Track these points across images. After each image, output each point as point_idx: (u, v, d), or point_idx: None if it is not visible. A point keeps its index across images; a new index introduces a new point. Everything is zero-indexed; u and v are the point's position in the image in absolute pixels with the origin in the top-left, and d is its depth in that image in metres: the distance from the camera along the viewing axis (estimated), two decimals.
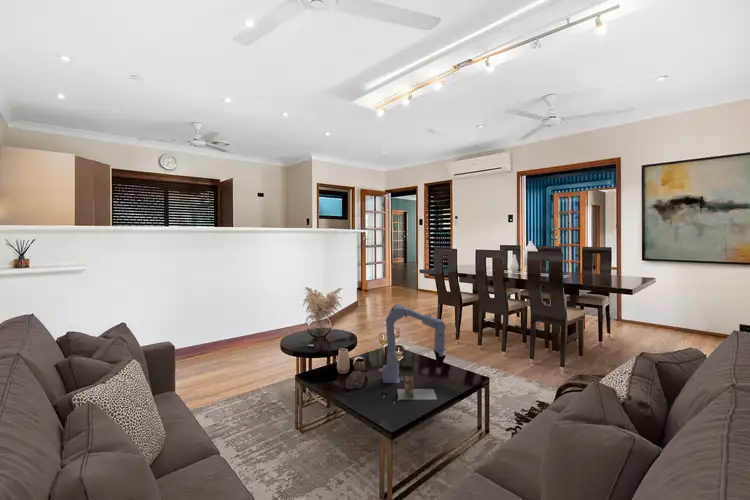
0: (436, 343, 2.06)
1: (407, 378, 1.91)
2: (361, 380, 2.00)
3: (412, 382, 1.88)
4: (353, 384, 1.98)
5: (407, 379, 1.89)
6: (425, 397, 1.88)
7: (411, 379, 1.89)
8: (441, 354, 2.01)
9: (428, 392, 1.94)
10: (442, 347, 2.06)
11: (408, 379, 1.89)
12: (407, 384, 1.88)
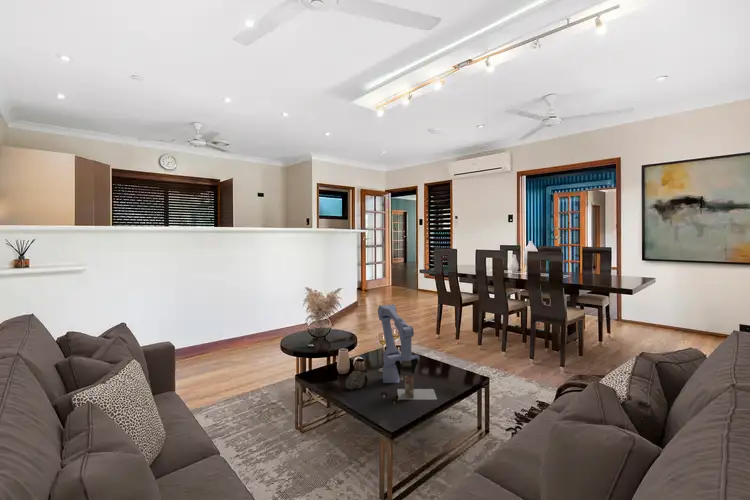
0: None
1: (407, 378, 1.91)
2: (361, 380, 2.00)
3: (412, 382, 1.88)
4: (353, 384, 1.98)
5: (407, 379, 1.89)
6: (425, 397, 1.88)
7: (411, 379, 1.89)
8: (393, 359, 1.92)
9: (428, 392, 1.94)
10: (402, 355, 1.92)
11: (408, 379, 1.89)
12: (407, 384, 1.88)
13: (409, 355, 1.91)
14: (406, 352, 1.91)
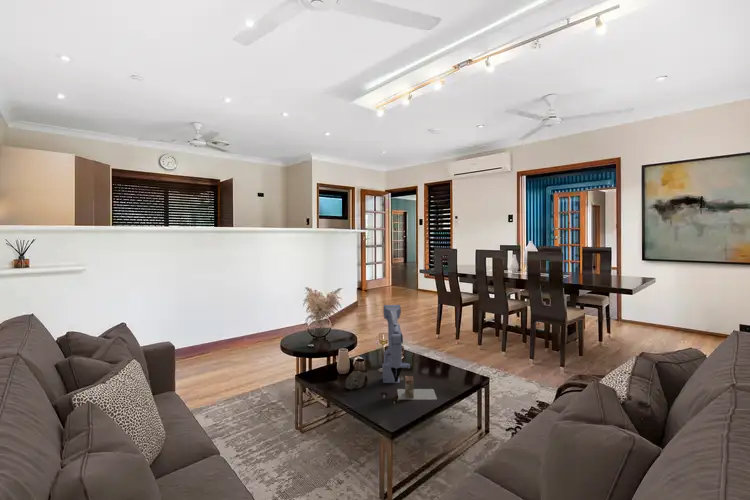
0: None
1: (407, 378, 1.91)
2: (361, 380, 2.00)
3: (412, 382, 1.88)
4: (353, 384, 1.98)
5: (407, 379, 1.89)
6: (425, 397, 1.88)
7: (411, 379, 1.89)
8: (382, 365, 1.90)
9: (428, 392, 1.94)
10: (391, 362, 1.89)
11: (408, 379, 1.89)
12: (407, 384, 1.88)
13: (398, 363, 1.87)
14: (395, 359, 1.87)
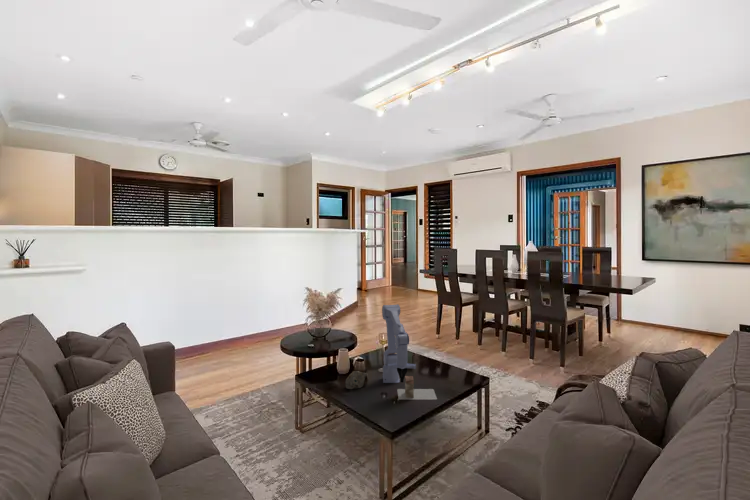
0: None
1: (407, 378, 1.91)
2: (361, 380, 2.00)
3: (412, 382, 1.88)
4: (353, 384, 1.98)
5: (407, 379, 1.89)
6: (425, 397, 1.88)
7: (411, 379, 1.89)
8: (388, 366, 1.90)
9: (428, 392, 1.94)
10: (397, 362, 1.89)
11: (408, 379, 1.89)
12: (407, 384, 1.88)
13: (404, 363, 1.87)
14: (400, 360, 1.87)
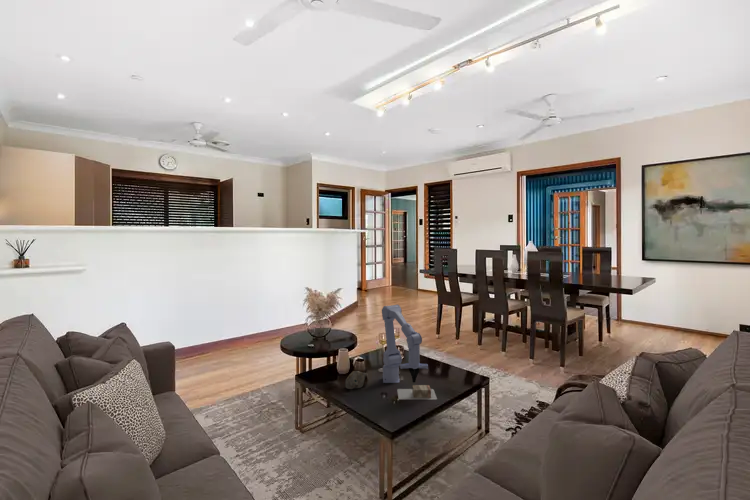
0: None
1: None
2: (361, 380, 2.00)
3: (429, 396, 1.88)
4: (353, 384, 1.98)
5: None
6: None
7: None
8: (400, 366, 1.90)
9: None
10: (409, 362, 1.89)
11: None
12: (427, 391, 1.88)
13: (416, 363, 1.87)
14: (413, 360, 1.87)
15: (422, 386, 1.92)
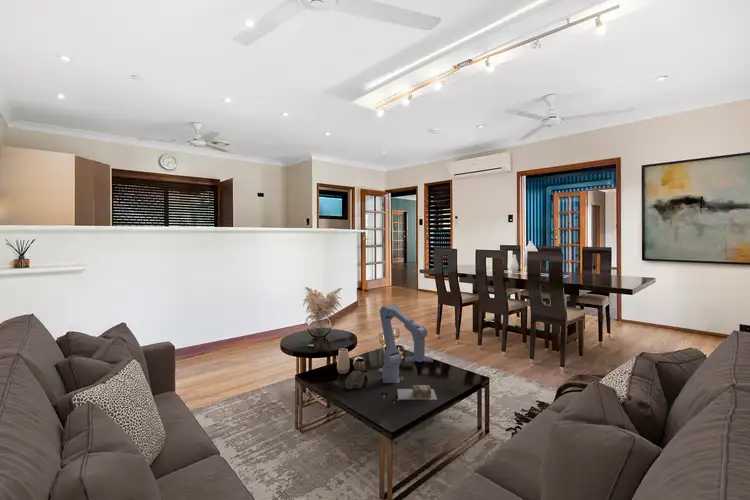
0: None
1: None
2: (361, 380, 2.01)
3: (429, 396, 1.88)
4: (353, 384, 1.98)
5: None
6: None
7: None
8: (405, 359, 1.93)
9: None
10: (414, 356, 1.91)
11: None
12: (427, 391, 1.88)
13: (421, 356, 1.90)
14: (418, 353, 1.90)
15: (422, 386, 1.92)
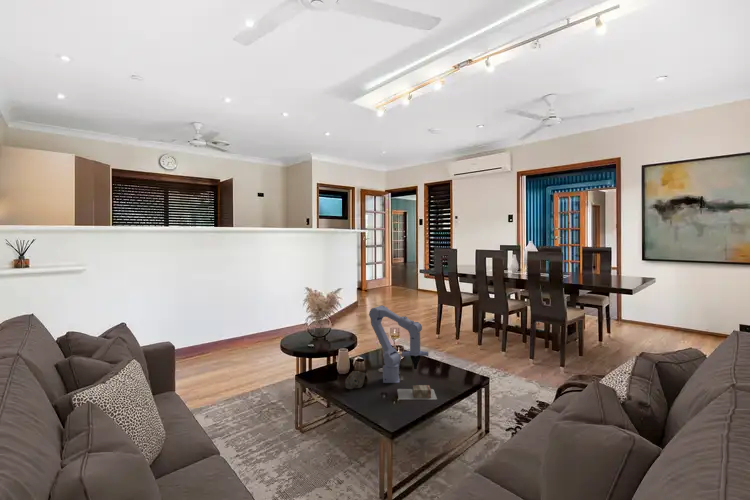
0: None
1: None
2: (361, 380, 2.01)
3: (429, 396, 1.88)
4: (353, 384, 1.98)
5: None
6: None
7: None
8: (402, 354, 2.01)
9: None
10: (411, 350, 1.99)
11: None
12: (427, 391, 1.88)
13: (417, 351, 1.98)
14: (414, 347, 1.98)
15: (422, 386, 1.92)
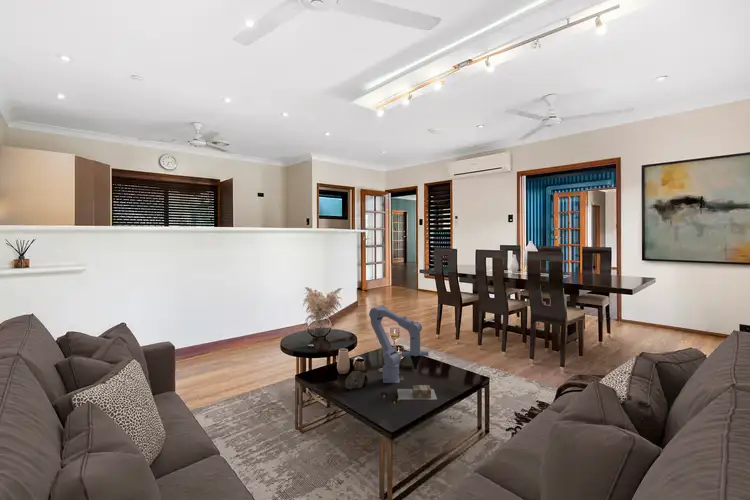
0: None
1: None
2: (361, 380, 2.01)
3: (429, 396, 1.88)
4: (353, 384, 1.98)
5: None
6: None
7: None
8: (402, 354, 2.01)
9: None
10: (411, 350, 1.99)
11: None
12: (427, 391, 1.88)
13: (417, 351, 1.98)
14: (414, 347, 1.98)
15: (422, 386, 1.92)
